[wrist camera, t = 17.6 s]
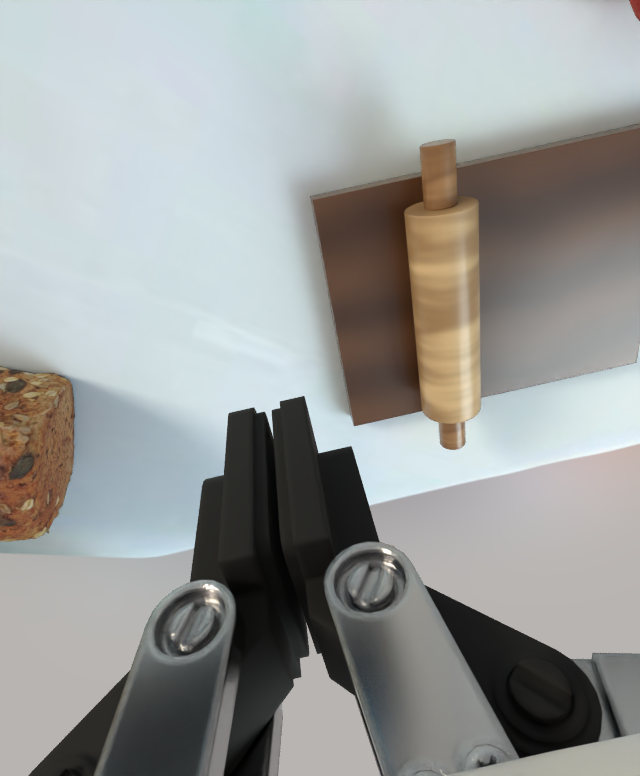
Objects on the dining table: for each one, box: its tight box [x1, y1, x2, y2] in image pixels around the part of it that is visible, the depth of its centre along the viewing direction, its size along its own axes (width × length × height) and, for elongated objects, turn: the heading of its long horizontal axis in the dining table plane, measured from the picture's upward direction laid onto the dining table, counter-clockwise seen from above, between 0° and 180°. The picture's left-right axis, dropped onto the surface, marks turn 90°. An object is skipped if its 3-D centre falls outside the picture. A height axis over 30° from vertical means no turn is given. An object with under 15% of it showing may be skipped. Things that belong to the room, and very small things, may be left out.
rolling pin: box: [404, 139, 481, 450], centre depth 33 cm, size 22×4×4 cm, turn 10°
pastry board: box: [310, 124, 640, 426], centre depth 36 cm, size 18×24×2 cm
